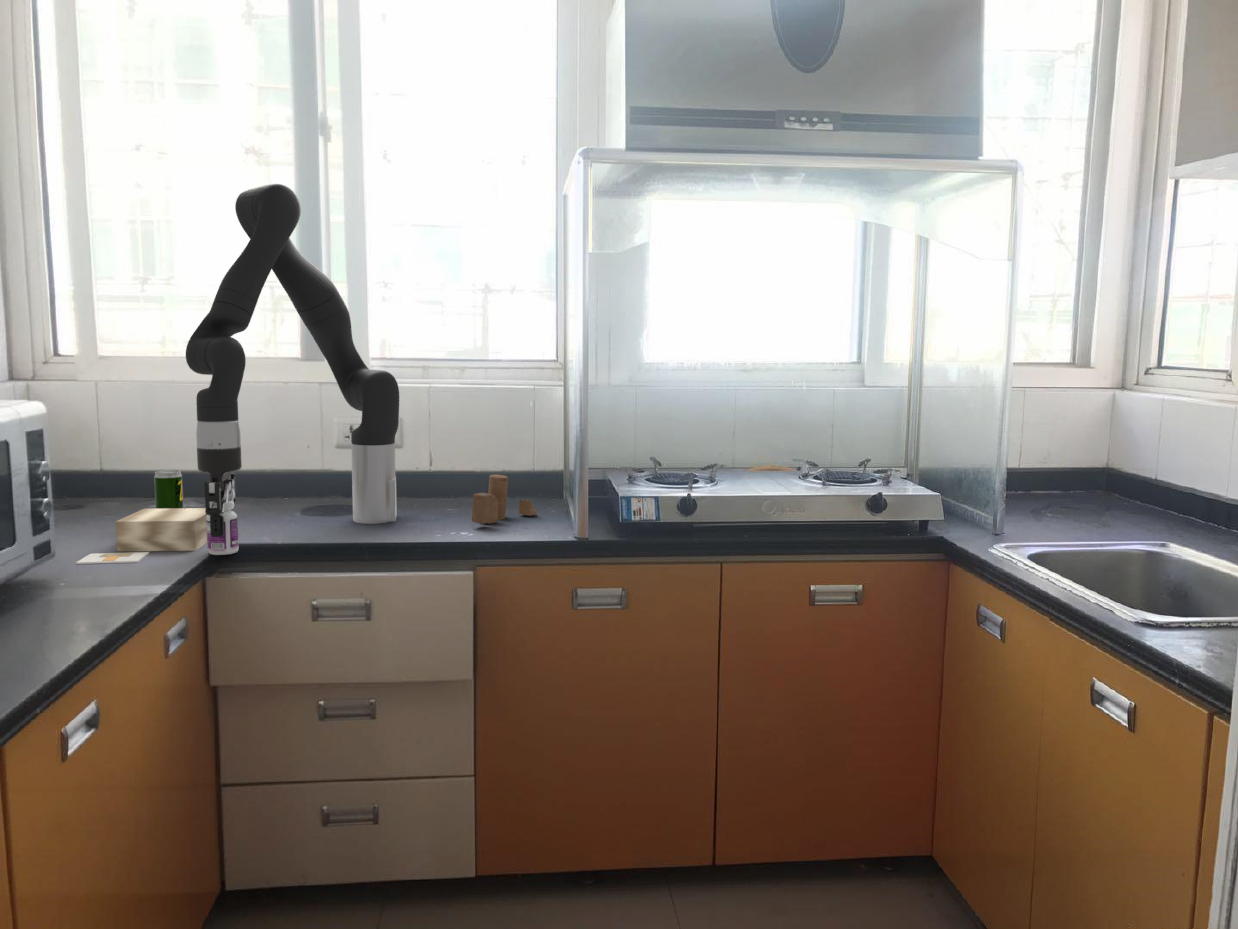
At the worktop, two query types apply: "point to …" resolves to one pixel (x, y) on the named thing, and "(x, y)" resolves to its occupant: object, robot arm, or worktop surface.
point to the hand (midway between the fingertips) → (222, 532)
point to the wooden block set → (496, 502)
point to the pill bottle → (230, 537)
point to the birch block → (162, 530)
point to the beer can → (168, 489)
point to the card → (113, 558)
